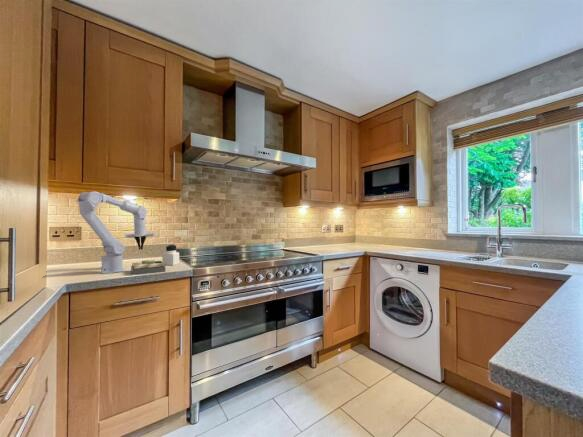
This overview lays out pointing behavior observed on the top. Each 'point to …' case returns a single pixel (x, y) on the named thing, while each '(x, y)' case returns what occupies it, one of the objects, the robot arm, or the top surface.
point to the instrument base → (147, 270)
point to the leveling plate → (147, 264)
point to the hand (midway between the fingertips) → (140, 249)
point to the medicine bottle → (170, 255)
